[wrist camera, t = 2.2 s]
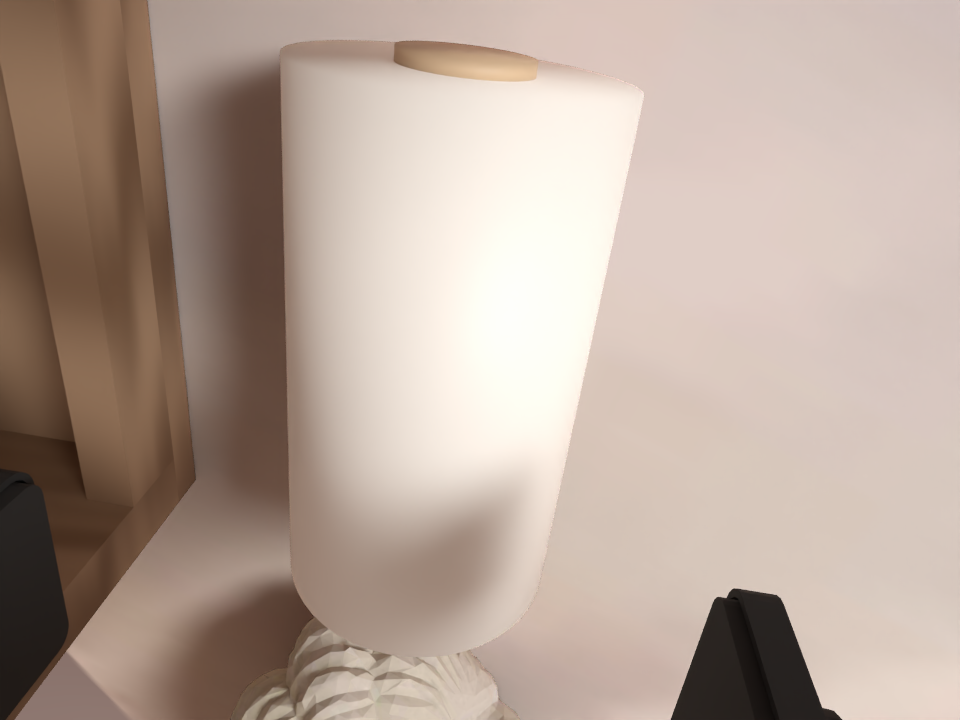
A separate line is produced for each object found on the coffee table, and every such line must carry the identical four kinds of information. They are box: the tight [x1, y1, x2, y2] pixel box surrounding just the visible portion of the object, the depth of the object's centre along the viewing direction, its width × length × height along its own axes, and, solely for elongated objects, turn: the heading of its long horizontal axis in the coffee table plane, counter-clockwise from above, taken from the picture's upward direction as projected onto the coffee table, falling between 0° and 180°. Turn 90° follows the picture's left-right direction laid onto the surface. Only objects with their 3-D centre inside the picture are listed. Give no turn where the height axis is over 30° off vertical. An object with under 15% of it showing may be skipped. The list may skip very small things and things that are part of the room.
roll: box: [280, 40, 644, 657], centre depth 15 cm, size 12×6×6 cm, turn 173°
